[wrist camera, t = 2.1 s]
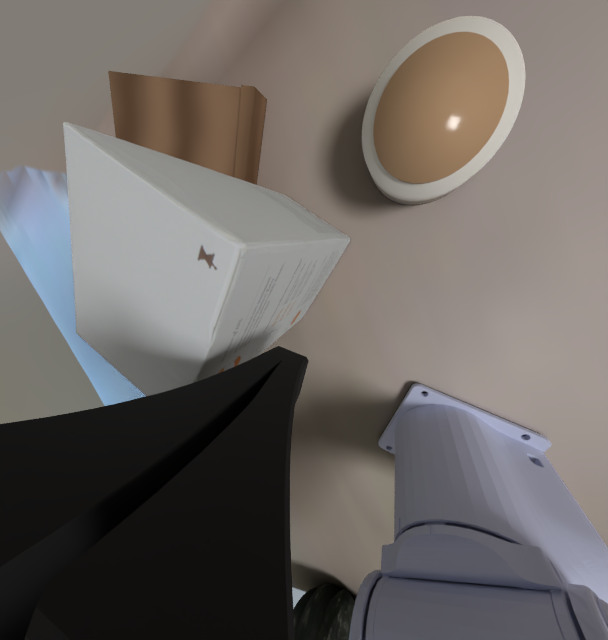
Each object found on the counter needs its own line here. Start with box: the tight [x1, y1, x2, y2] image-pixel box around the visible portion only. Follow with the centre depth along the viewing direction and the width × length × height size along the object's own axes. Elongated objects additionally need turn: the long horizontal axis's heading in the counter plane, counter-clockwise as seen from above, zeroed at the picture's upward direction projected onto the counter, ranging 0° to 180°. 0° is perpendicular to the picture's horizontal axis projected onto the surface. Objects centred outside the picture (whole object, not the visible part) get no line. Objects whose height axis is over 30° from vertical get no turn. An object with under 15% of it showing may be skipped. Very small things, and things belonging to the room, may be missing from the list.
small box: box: [63, 122, 351, 396], centre depth 13 cm, size 8×6×13 cm
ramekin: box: [362, 16, 525, 205], centre depth 11 cm, size 6×6×4 cm
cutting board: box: [109, 71, 267, 185], centre depth 20 cm, size 14×20×2 cm
